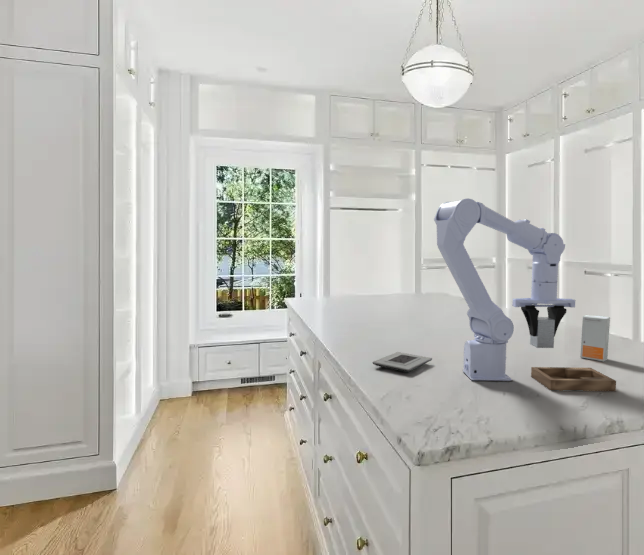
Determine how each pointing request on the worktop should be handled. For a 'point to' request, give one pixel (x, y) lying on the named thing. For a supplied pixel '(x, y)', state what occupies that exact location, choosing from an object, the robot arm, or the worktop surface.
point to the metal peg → (544, 333)
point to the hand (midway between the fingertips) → (542, 335)
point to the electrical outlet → (402, 361)
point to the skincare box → (595, 337)
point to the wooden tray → (573, 379)
